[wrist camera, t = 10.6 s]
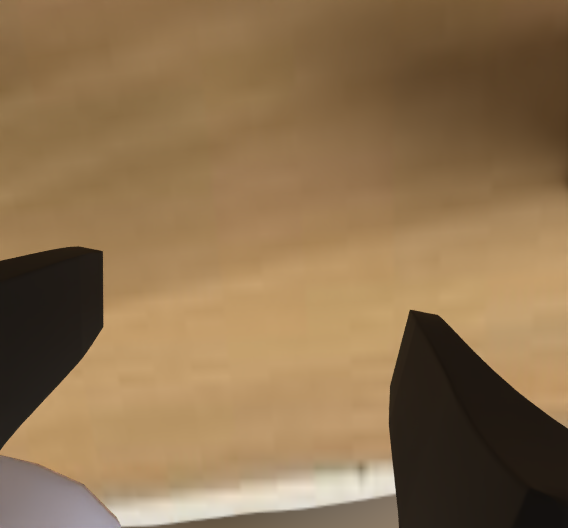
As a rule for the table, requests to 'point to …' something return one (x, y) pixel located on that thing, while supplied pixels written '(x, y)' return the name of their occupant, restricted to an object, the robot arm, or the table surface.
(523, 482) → the robot arm
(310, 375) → the table surface
